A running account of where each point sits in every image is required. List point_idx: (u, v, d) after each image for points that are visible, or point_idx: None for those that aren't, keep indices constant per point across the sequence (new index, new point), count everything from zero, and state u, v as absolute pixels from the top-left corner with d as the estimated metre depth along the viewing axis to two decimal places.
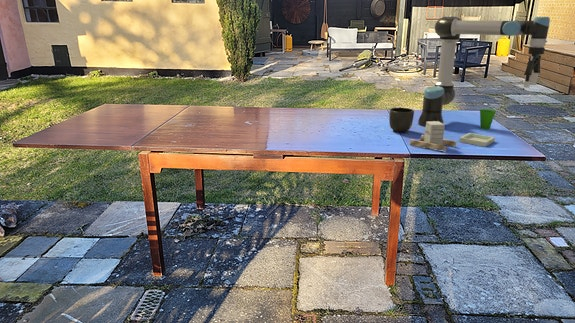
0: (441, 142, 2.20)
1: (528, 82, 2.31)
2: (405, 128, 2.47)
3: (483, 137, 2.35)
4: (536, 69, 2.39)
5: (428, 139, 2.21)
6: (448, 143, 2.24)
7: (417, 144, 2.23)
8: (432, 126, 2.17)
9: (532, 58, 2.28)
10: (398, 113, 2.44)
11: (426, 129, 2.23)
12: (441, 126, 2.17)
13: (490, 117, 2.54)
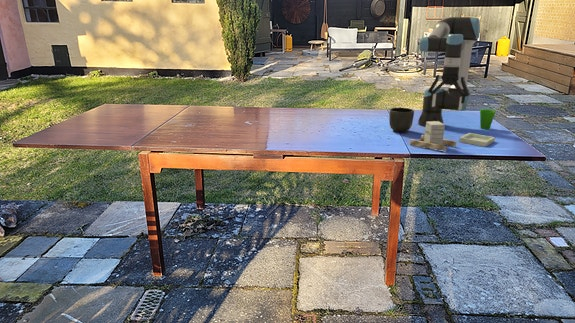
0: (441, 142, 2.20)
1: None
2: (405, 128, 2.47)
3: (483, 137, 2.35)
4: None
5: (428, 139, 2.21)
6: (448, 143, 2.24)
7: (417, 144, 2.23)
8: (432, 126, 2.17)
9: None
10: (398, 113, 2.44)
11: (426, 129, 2.23)
12: (441, 126, 2.17)
13: (490, 117, 2.54)
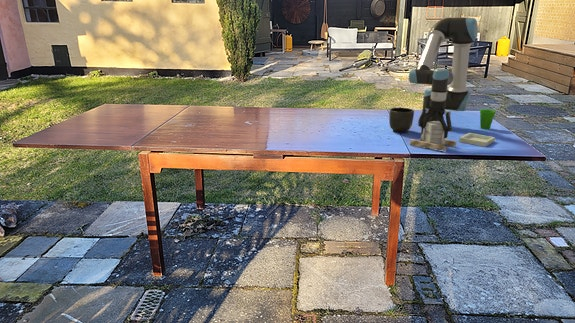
0: None
1: None
2: (405, 128, 2.47)
3: (483, 137, 2.35)
4: None
5: (428, 139, 2.21)
6: (448, 143, 2.24)
7: (417, 144, 2.23)
8: (432, 126, 2.17)
9: None
10: (398, 113, 2.44)
11: (426, 129, 2.23)
12: (441, 126, 2.17)
13: (490, 117, 2.54)
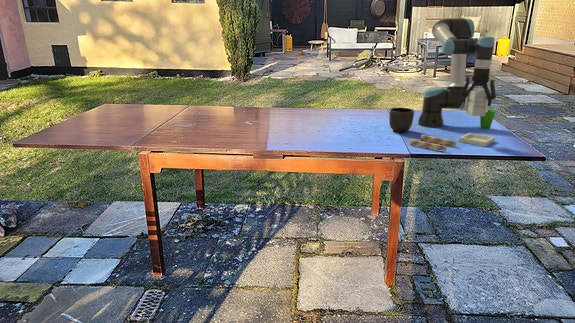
0: (484, 110, 2.22)
1: None
2: (405, 128, 2.47)
3: (483, 137, 2.35)
4: None
5: (471, 107, 2.23)
6: (448, 143, 2.24)
7: (417, 144, 2.23)
8: (476, 93, 2.19)
9: None
10: (398, 113, 2.44)
11: (469, 97, 2.25)
12: (485, 94, 2.19)
13: (490, 117, 2.54)
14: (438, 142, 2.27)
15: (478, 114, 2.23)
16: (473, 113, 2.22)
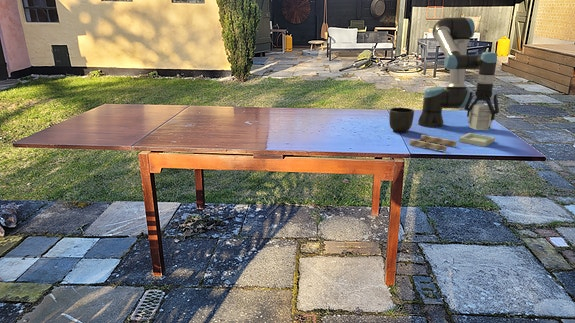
0: (487, 124, 2.25)
1: None
2: (405, 128, 2.47)
3: (483, 137, 2.35)
4: None
5: (475, 121, 2.26)
6: (448, 143, 2.24)
7: (417, 144, 2.23)
8: (479, 108, 2.22)
9: None
10: (398, 113, 2.44)
11: (472, 112, 2.28)
12: (488, 108, 2.23)
13: None
14: (438, 142, 2.27)
15: (482, 128, 2.26)
16: (477, 127, 2.25)
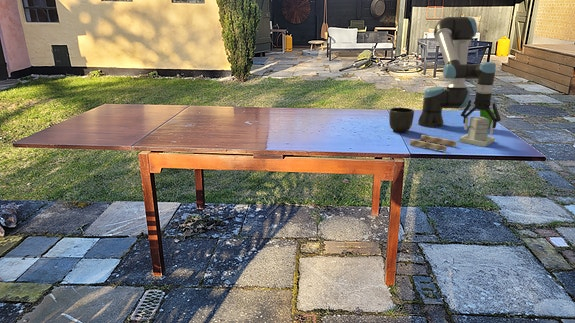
0: (485, 137, 2.28)
1: None
2: (405, 128, 2.47)
3: None
4: None
5: (473, 134, 2.28)
6: (448, 143, 2.24)
7: (417, 144, 2.23)
8: (477, 121, 2.24)
9: None
10: (398, 113, 2.44)
11: (470, 124, 2.30)
12: (486, 121, 2.25)
13: (490, 117, 2.54)
14: (438, 142, 2.27)
15: None
16: None
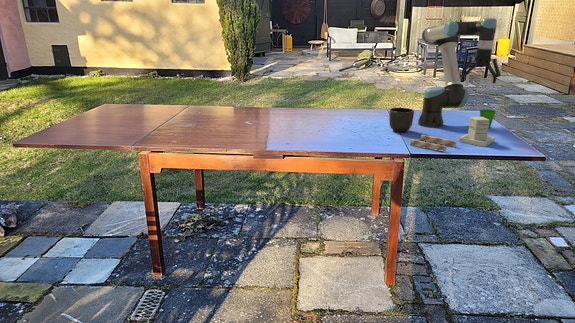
0: (485, 137, 2.28)
1: None
2: (405, 128, 2.47)
3: None
4: None
5: (473, 134, 2.28)
6: (448, 143, 2.24)
7: (417, 144, 2.23)
8: (477, 121, 2.24)
9: None
10: (398, 113, 2.44)
11: (470, 124, 2.30)
12: (486, 121, 2.25)
13: (490, 117, 2.54)
14: (438, 142, 2.27)
15: None
16: None
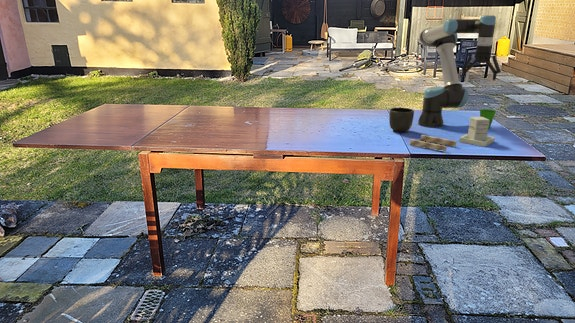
0: (485, 137, 2.28)
1: None
2: (405, 128, 2.47)
3: None
4: None
5: (473, 134, 2.28)
6: (448, 143, 2.24)
7: (417, 144, 2.23)
8: (477, 121, 2.24)
9: None
10: (398, 113, 2.44)
11: (470, 124, 2.30)
12: (486, 121, 2.25)
13: (490, 117, 2.54)
14: (438, 142, 2.27)
15: None
16: None
